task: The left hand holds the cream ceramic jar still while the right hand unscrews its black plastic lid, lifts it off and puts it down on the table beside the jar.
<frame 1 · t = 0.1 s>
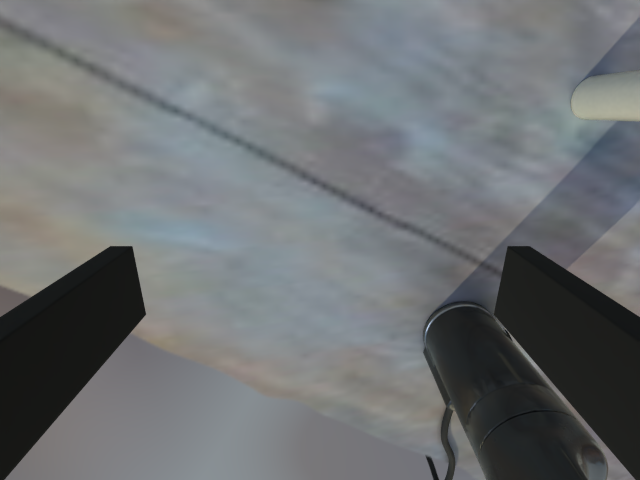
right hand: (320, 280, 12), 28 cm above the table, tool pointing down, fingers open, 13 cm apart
jar: (591, 98, 36), on the table
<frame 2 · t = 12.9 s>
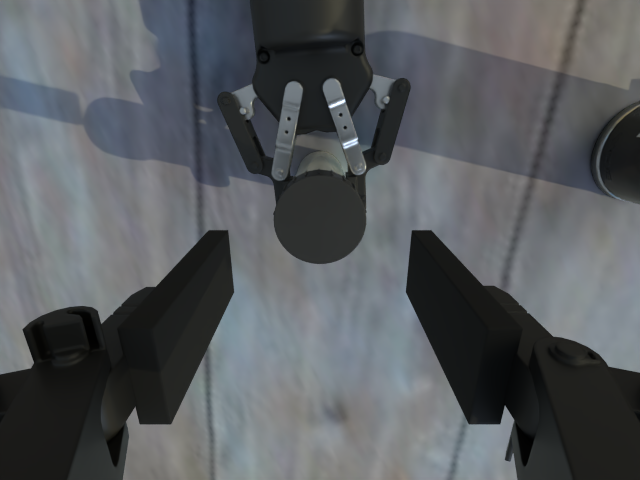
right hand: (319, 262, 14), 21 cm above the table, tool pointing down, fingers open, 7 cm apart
left hand: (322, 220, 28), fingers closed on jar, 4 cm apart
jar: (320, 173, 34), on the table, touching left hand
lid: (320, 220, 19), point 15 cm above the table, screwed on, not yet turned
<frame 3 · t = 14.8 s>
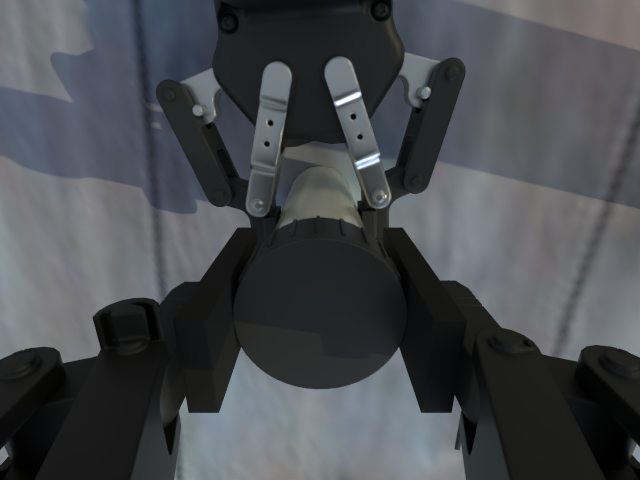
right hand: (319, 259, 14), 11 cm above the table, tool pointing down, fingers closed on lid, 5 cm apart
left hand: (324, 271, 19), fingers closed on jar, 4 cm apart
jar: (320, 196, 25), on the table, touching left hand
lid: (320, 314, 10), point 15 cm above the table, screwed on, not yet turned, touching right hand
when the right hand's fingers open (11 cm above the table, at t = 16.2 s): lid stays where it is, point 15 cm above the table.
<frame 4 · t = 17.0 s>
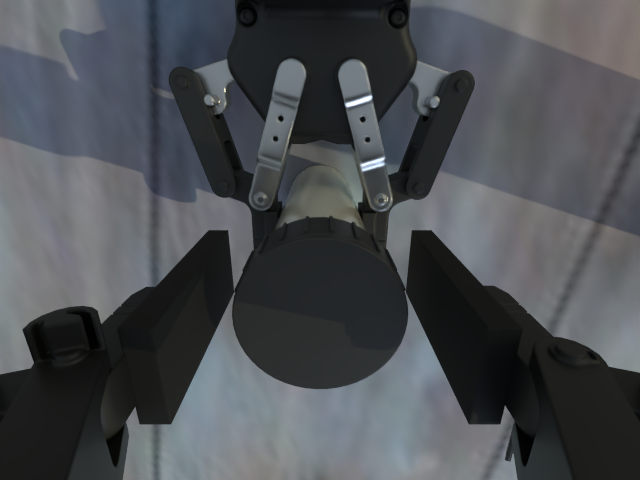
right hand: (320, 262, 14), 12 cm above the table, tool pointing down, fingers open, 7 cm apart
left hand: (320, 268, 20), fingers closed on jar, 4 cm apart
jar: (320, 195, 25), on the table, touching left hand
lid: (320, 313, 10), point 15 cm above the table, turned 94° so far, risen 0.3 cm, still on its thread
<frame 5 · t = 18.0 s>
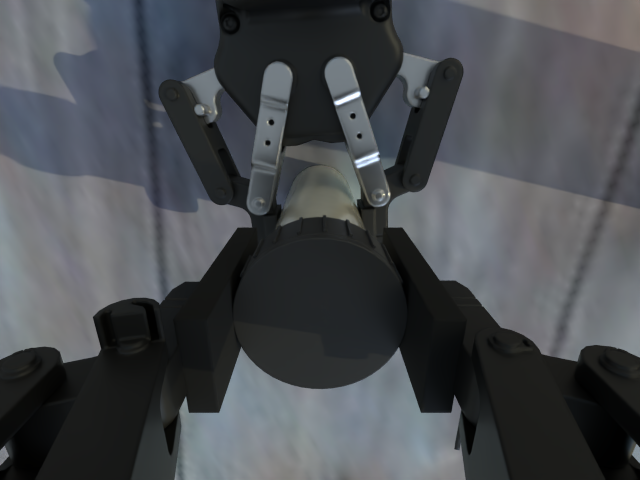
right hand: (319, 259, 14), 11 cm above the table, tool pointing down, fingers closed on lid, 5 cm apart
left hand: (324, 268, 20), fingers closed on jar, 4 cm apart
jar: (320, 195, 25), on the table, touching left hand
lid: (320, 313, 10), point 15 cm above the table, turned 94° so far, risen 0.3 cm, still on its thread, touching right hand
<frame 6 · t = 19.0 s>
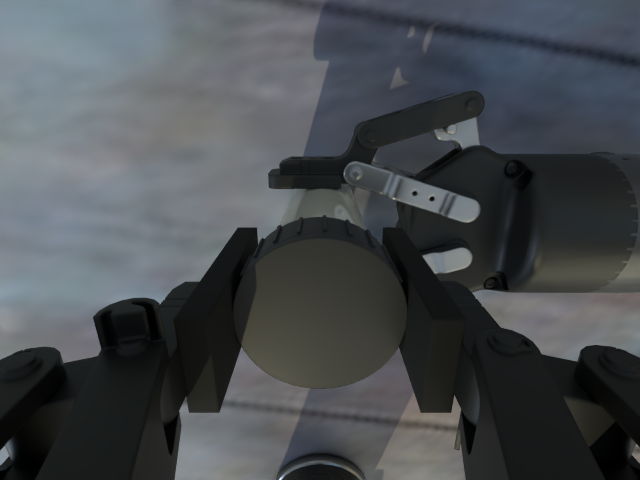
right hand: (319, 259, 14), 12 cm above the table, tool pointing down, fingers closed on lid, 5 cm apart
left hand: (273, 223, 19), fingers closed on jar, 4 cm apart
jar: (322, 196, 25), on the table, touching left hand
lid: (320, 313, 10), point 16 cm above the table, off its thread, touching right hand
when the right hand's fingers open (0 cm above the table, at t = 25.0 s): lid drops 3 cm, point 2 cm above the table.
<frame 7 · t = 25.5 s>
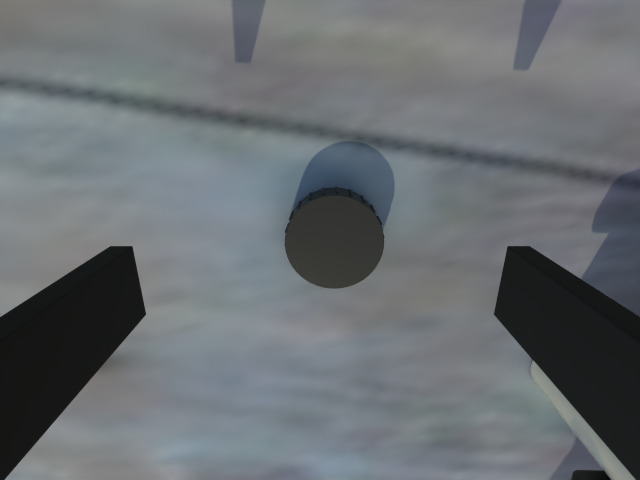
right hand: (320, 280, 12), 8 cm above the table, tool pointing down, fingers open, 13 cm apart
jar: (564, 365, 22), on the table, touching left hand
lid: (334, 241, 18), point 2 cm above the table, off its thread
when the left hand's fingers open (7 cm above the table, at t = 25.6 s): jar stays where it is, on the table.
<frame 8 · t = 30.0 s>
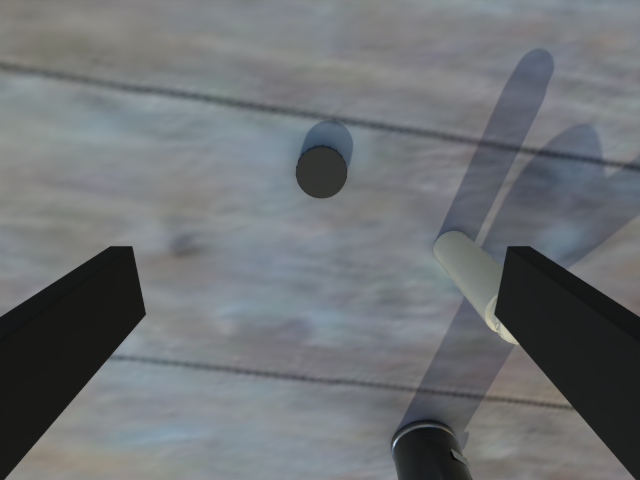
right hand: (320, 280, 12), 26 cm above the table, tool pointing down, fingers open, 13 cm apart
jar: (451, 248, 40), on the table
lid: (321, 173, 35), point 2 cm above the table, off its thread
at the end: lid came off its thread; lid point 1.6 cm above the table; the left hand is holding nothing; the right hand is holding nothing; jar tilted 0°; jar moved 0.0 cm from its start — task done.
